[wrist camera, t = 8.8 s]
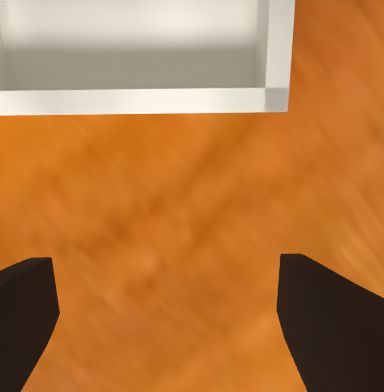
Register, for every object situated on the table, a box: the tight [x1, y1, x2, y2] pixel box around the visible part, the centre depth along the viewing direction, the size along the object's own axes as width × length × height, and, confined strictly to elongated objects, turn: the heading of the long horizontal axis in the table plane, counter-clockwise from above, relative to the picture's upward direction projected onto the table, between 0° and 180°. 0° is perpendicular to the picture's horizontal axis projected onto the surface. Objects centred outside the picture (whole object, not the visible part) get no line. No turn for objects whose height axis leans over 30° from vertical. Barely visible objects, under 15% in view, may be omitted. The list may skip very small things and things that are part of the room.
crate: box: [0, 0, 295, 115], centre depth 15 cm, size 14×9×4 cm, turn 91°
